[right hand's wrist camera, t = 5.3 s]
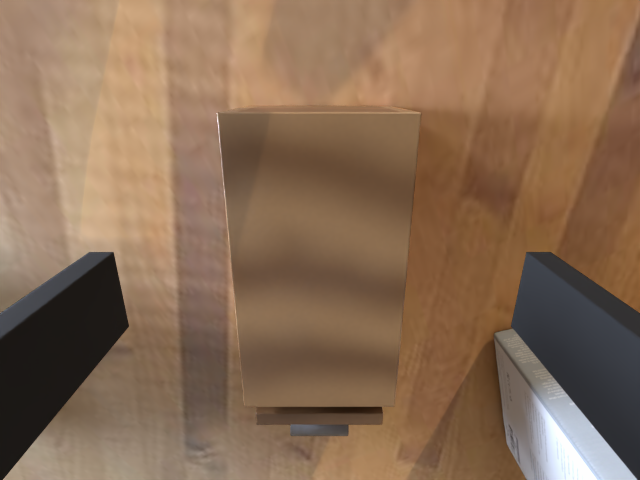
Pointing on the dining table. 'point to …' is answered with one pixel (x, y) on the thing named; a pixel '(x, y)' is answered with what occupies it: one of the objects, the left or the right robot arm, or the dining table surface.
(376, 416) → the drawer
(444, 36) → the dining table surface
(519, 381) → the hard drive box
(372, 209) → the cabinet
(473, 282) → the dining table surface
